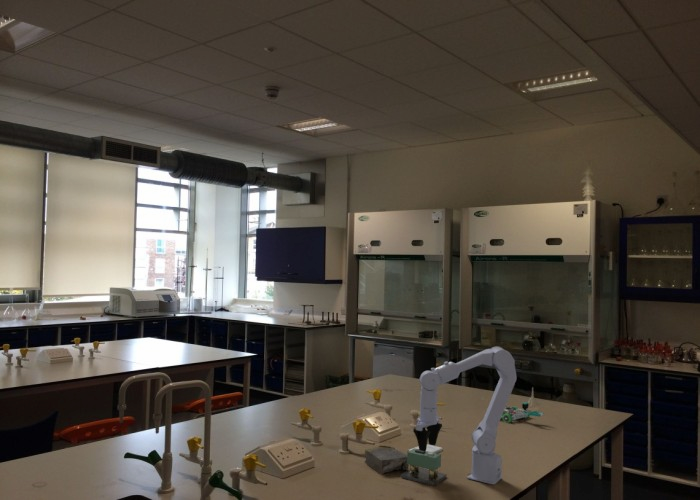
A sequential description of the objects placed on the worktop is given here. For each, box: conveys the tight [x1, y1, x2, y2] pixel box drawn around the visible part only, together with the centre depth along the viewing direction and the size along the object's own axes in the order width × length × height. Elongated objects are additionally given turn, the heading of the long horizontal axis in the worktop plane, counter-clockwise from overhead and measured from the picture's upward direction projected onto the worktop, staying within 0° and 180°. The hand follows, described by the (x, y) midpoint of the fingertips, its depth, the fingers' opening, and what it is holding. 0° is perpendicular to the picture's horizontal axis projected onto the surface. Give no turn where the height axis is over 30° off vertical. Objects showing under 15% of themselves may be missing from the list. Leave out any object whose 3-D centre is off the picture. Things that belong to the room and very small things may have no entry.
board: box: [406, 447, 442, 471], centre depth 191 cm, size 10×5×5 cm, turn 57°
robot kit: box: [500, 402, 545, 424], centre depth 272 cm, size 19×25×9 cm
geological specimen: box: [364, 445, 410, 475], centre depth 201 cm, size 11×6×15 cm
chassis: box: [400, 465, 447, 487], centre depth 191 cm, size 12×10×4 cm
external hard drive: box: [407, 443, 444, 454], centre depth 219 cm, size 2×8×12 cm
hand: (427, 447), depth 193 cm, fingers open, 7 cm apart
